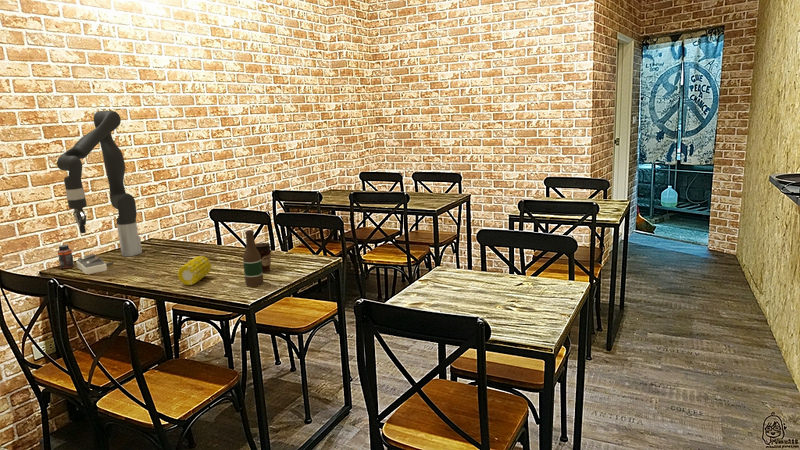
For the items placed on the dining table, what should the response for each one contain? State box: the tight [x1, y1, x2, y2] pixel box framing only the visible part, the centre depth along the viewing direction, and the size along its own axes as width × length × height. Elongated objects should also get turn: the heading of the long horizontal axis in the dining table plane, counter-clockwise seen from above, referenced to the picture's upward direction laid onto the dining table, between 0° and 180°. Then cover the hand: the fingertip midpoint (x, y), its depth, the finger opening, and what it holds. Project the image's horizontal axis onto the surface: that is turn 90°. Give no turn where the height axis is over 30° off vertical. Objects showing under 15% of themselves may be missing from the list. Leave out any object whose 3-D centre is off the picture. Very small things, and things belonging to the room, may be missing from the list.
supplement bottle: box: [57, 244, 75, 270], centre depth 263 cm, size 6×6×11 cm
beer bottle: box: [242, 229, 264, 287], centre depth 229 cm, size 8×8×24 cm
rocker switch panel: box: [75, 254, 114, 275], centre depth 263 cm, size 14×18×5 cm
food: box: [177, 255, 212, 286], centre depth 238 cm, size 15×12×10 cm
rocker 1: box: [79, 252, 97, 260], centre depth 264 cm, size 6×4×2 cm
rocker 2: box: [85, 255, 102, 264], centre depth 257 cm, size 6×4×2 cm
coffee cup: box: [255, 242, 272, 274], centre depth 248 cm, size 9×8×13 cm
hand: (83, 232), depth 257 cm, fingers closed
